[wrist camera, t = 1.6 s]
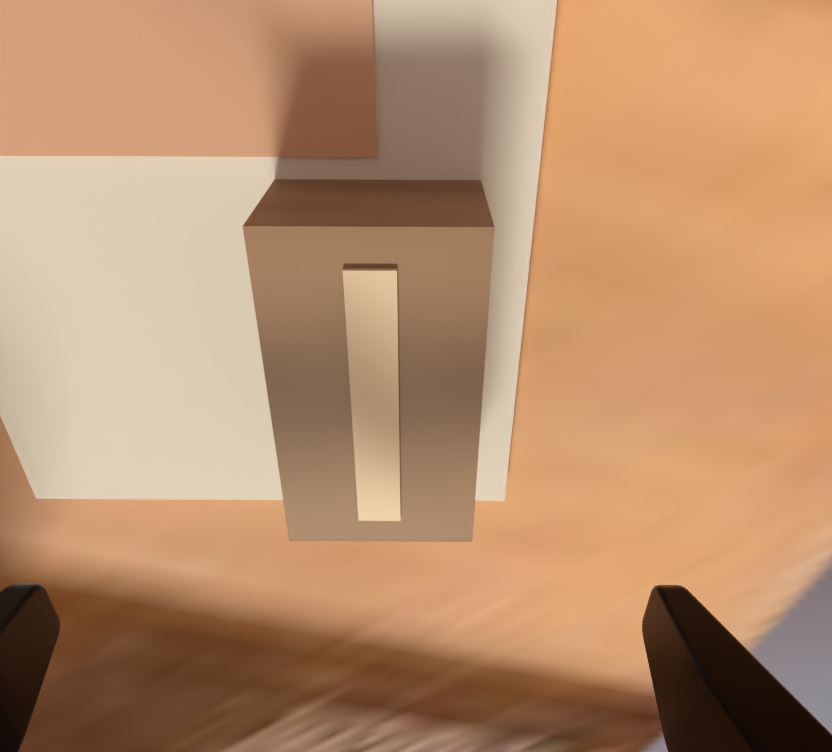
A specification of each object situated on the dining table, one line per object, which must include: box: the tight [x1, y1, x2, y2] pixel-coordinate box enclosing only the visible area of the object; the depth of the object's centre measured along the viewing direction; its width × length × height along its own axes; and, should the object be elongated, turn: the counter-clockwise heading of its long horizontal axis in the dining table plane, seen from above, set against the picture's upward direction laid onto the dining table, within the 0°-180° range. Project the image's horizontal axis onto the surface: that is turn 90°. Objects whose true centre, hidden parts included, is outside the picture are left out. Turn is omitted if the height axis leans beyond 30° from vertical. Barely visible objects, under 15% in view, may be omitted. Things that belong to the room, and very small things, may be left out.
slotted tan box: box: [243, 179, 495, 542], centre depth 15 cm, size 8×4×3 cm, turn 0°
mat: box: [0, 0, 557, 501], centre depth 15 cm, size 17×14×1 cm
